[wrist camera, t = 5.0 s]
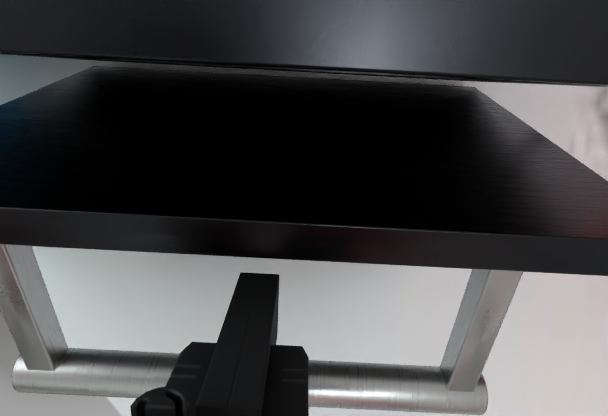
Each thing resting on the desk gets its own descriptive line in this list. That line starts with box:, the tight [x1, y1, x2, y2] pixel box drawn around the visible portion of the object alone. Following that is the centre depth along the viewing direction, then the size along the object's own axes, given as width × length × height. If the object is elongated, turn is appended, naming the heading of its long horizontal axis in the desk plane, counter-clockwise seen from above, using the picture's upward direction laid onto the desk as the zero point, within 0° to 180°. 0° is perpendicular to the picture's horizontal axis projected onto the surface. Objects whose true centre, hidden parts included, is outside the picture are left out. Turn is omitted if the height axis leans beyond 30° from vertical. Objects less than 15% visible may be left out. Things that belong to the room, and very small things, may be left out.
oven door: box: [0, 66, 608, 415], centre depth 20 cm, size 8×24×17 cm, turn 87°
